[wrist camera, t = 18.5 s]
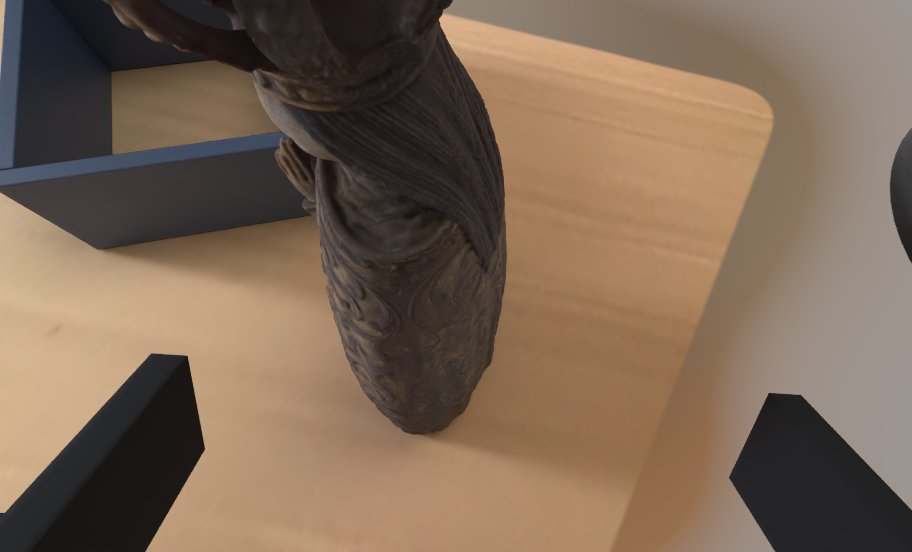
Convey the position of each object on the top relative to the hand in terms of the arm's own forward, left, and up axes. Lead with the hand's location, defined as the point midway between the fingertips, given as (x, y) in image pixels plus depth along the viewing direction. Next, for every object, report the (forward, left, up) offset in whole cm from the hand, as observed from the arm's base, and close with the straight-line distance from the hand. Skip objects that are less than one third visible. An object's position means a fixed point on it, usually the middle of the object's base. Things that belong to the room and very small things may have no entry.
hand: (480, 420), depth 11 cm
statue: (+5, 0, -14) cm, 15 cm away
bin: (+19, +10, -14) cm, 26 cm away
